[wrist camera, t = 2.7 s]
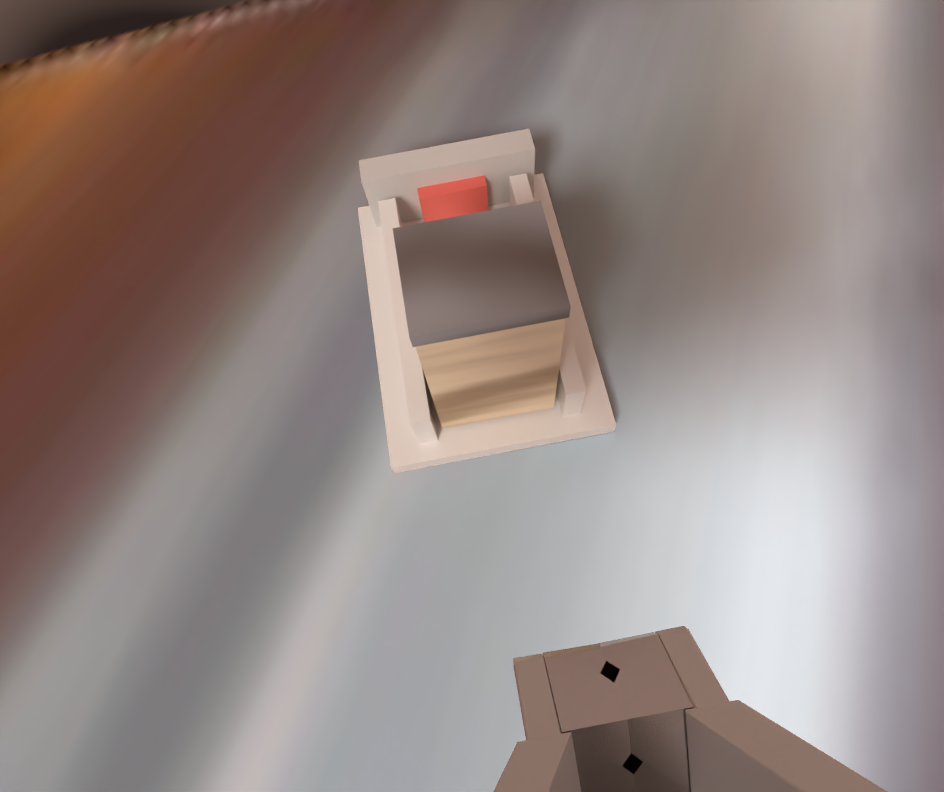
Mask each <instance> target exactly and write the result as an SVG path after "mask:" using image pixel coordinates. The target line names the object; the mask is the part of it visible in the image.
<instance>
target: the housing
mask: <svg viewBox="0 0 944 792" xmlns="http://www.w3.org/2000/svg"><path fill="white" fill-rule="evenodd" d="M359 166H360V174H361V181H362V185H363V188H364V191H365V194H366V197H367V200H368V203H369V206H365V207H360V208H358V213H359V221H360V228H361V236H362V244H363V252H364V260H365V268H366V276H367V283H368V291H369V299H370V307H371V315H372V323H373V331H374V338H375V346H376V354H377V362H378V370H379V378H380V386H381V393H382V401H383V409H384V417H385V425H386V433H387V440H388V448H389V456H390V464H391V469H392V470H393V472H394V473H399V472H404V471H409V470H415V469H420V468H425V467H430V466H436V465H441V464H446V463H451V462H457V461H462V460H467V459H472V458H478V457H483V456H488V455H493V454H499V453H504V452H509V451H514V450H520V449H525V448H530V447H535V446H541V445H546V444H551V443H556V442H562V441H567V440H572V439H577V438H583V437H588V436H593V435H598V434H604V433H609V432H614V430H615V427H616V422H615V419H614V415H613V412H612V408H611V405H610V402H609V398H608V395H607V391H606V388H605V384H604V381H603V377H602V374H601V371H600V367H599V364H598V360H597V357H596V353H595V350H594V347H593V343H592V340H591V336H590V333H589V329H588V326H587V322H586V319H585V316H584V312H583V309H582V305H581V302H580V298H579V295H578V292H577V288H576V285H575V281H574V278H573V274H572V271H571V267H570V264H569V261H568V257H567V254H566V250H565V247H564V243H563V240H562V236H561V233H560V230H559V226H558V223H557V219H556V216H555V212H554V209H553V206H552V202H551V199H550V195H549V192H548V188H547V185H546V181H545V178H544V175H543V173H541V174H535V175H534V170H535V147H534V143H533V140H532V136H531V133H530V130H529V129H524V130H519V131H513V132H508V133H503V134H497V135H492V136H487V137H481V138H476V139H471V140H465V141H460V142H455V143H449V144H444V145H439V146H433V147H428V148H423V149H417V150H412V151H407V152H401V153H396V154H391V155H385V156H380V157H375V158H370V159H364V160H359ZM535 201H541V203H542V207H543V210H544V214H545V217H546V221H547V224H548V228H549V231H550V235H551V239H552V242H553V246H554V249H555V253H556V256H557V260H558V263H559V267H560V270H561V274H562V278H563V281H564V285H565V288H566V292H567V295H568V299H569V302H570V306H571V309H570V316H569V318H566V320H565V328H564V335H563V343H562V350H561V358H560V365H559V373H558V380H557V388H556V395H555V403H554V408H549V409H544V410H538V411H533V412H528V413H523V414H517V415H512V416H507V417H502V418H496V419H491V420H486V421H481V422H475V423H470V424H465V425H460V426H454V427H449V428H444V429H442V426H441V423H440V420H439V417H438V414H437V411H436V408H435V405H434V402H433V399H432V396H431V393H430V389H429V386H428V383H427V380H426V377H425V374H424V371H423V368H422V365H421V362H420V359H419V356H418V353H417V350H416V347H412V344H411V341H410V338H409V332H408V326H407V319H406V313H405V306H404V300H403V293H402V287H401V280H400V274H399V267H398V261H397V254H396V248H395V241H394V235H393V228H397V227H403V226H408V225H413V224H419V223H424V222H429V221H435V220H440V219H445V218H451V217H456V216H461V215H466V214H472V213H477V212H482V211H488V210H493V209H498V208H504V207H509V206H514V205H520V204H525V203H530V202H535Z"/></svg>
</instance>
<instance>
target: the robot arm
mask: <svg viewBox="0 0 944 792" xmlns="http://www.w3.org/2000/svg"><path fill="white" fill-rule="evenodd" d="M514 671H515V677H516V683H517V689H518V695H519V701H520V707H521V712H522V718H523V724H524V730H525V736H526V741H521V742H517V744H516V746H515V748H514V751H513V753H512V755H511V757H510V759H509V761H508V763H507V765H506V767H505V769H504V771H503V773H502V775H501V777H500V779H499V781H498V784H497V786H496V788H495V790H494V792H887V791H885V790H884V789H882V788H880V787H879V786H877V785H875V784H874V783H872V782H871V781H869V780H867V779H866V778H864V777H862V776H861V775H859V774H858V773H856V772H854V771H853V770H851V769H849V768H848V767H846V766H845V765H843V764H841V763H840V762H838V761H837V760H835V759H833V758H832V757H830V756H828V755H827V754H825V753H824V752H822V751H820V750H819V749H817V748H815V747H814V746H812V745H811V744H809V743H807V742H806V741H804V740H802V739H801V738H799V737H798V736H796V735H794V734H793V733H791V732H789V731H788V730H786V729H785V728H783V727H781V726H780V725H778V724H777V723H775V722H773V721H772V720H770V719H768V718H767V717H765V716H764V715H762V714H760V713H759V712H757V711H755V710H754V709H752V708H751V707H749V706H747V705H746V704H744V703H742V702H741V701H739V700H736V701H730V702H729V700H728V698H727V696H726V695H725V693H724V691H723V689H722V688H721V686H720V684H719V682H718V680H717V679H716V677H715V675H714V673H713V672H712V670H711V668H710V666H709V665H708V663H707V661H706V659H705V658H704V656H703V654H702V652H701V650H700V649H699V647H698V645H697V643H696V642H695V640H694V638H693V636H692V635H691V633H690V631H689V629H687V628H686V627H685V626H681V627H676V628H671V629H666V630H661V631H656V632H655V633H654V632H652V633H647V634H642V635H637V636H632V637H627V638H622V639H617V640H612V641H608V642H603V643H598V644H594V645H588V646H581V647H575V648H569V649H563V650H557V651H551V652H545V653H543V656H542V654H538V655H531V656H525V657H518V658H514Z"/></svg>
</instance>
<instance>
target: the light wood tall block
mask: <svg viewBox="0 0 944 792" xmlns="http://www.w3.org/2000/svg"><path fill="white" fill-rule="evenodd" d="M393 235H394V241H395V248H396V254H397V261H398V267H399V274H400V280H401V287H402V293H403V300H404V306H405V313H406V319H407V326H408V332H409V338H410V341H411V344H412V347H416V350H417V353H418V356H419V359H420V362H421V365H422V368H423V371H424V374H425V377H426V380H427V383H428V386H429V389H430V393H431V396H432V399H433V402H434V405H435V408H436V411H437V414H438V417H439V420H440V423H441V426H442V429H444V428H449V427H454V426H460V425H465V424H470V423H475V422H481V421H486V420H491V419H496V418H502V417H507V416H512V415H517V414H523V413H528V412H533V411H538V410H544V409H549V408H554V403H555V395H556V388H557V380H558V373H559V365H560V358H561V350H562V343H563V335H564V328H565V320H566V318H569V316H570V309H571V306H570V302H569V299H568V295H567V292H566V288H565V285H564V281H563V278H562V274H561V270H560V267H559V263H558V260H557V256H556V253H555V249H554V246H553V242H552V239H551V235H550V231H549V228H548V224H547V221H546V217H545V214H544V210H543V207H542V203H541V201H535V202H530V203H525V204H520V205H514V206H509V207H504V208H498V209H493V210H488V211H482V212H477V213H472V214H466V215H461V216H456V217H451V218H445V219H440V220H435V221H429V222H424V223H419V224H413V225H408V226H403V227H397V228H393Z"/></svg>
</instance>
